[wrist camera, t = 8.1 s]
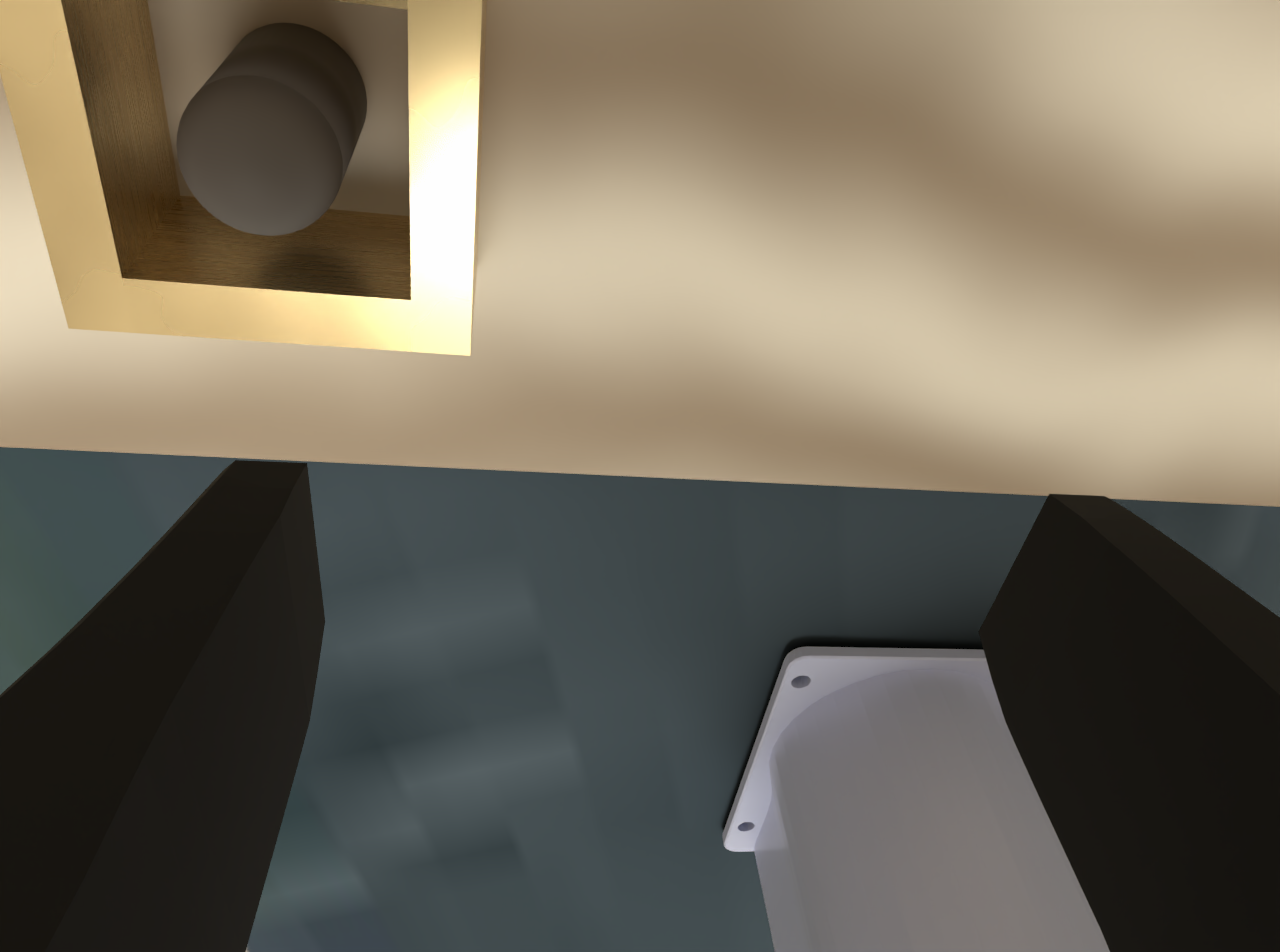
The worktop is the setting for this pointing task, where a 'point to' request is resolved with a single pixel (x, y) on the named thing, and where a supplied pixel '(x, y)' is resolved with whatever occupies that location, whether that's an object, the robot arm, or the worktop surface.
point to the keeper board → (735, 247)
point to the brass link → (205, 246)
